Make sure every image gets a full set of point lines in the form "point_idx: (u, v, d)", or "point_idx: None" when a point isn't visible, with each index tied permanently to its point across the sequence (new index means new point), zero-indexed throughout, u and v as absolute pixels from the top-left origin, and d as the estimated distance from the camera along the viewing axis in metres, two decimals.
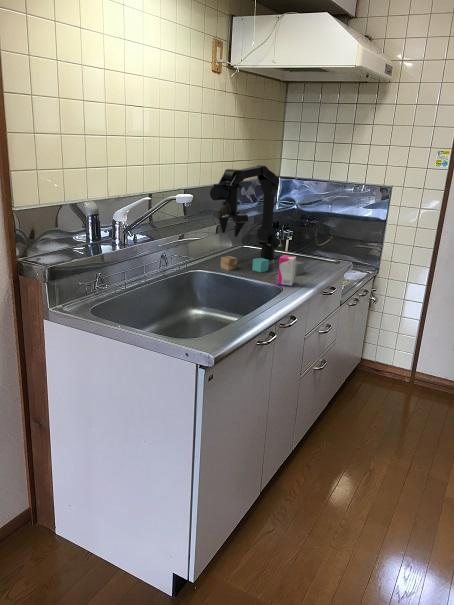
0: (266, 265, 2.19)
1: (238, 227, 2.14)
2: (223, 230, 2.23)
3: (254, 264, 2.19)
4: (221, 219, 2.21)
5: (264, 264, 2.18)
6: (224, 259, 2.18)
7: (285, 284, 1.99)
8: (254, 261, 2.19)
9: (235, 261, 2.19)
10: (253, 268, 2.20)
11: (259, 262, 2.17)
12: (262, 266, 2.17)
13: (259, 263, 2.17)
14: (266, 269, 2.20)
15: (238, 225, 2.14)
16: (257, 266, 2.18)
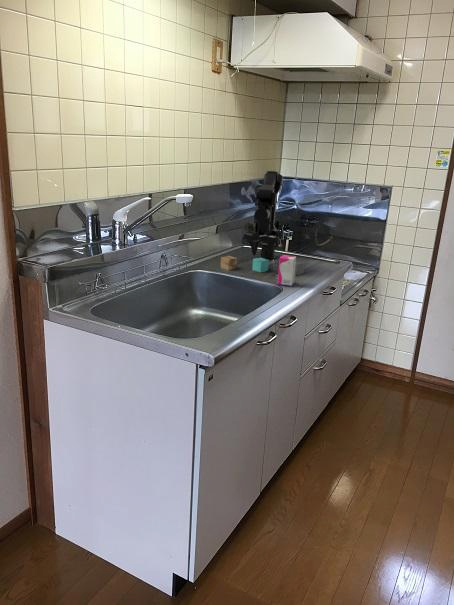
0: (266, 265, 2.19)
1: (253, 246, 2.13)
2: (268, 250, 2.21)
3: (254, 264, 2.19)
4: (268, 238, 2.20)
5: (264, 264, 2.18)
6: (224, 259, 2.18)
7: (285, 284, 1.99)
8: (254, 261, 2.19)
9: (235, 261, 2.19)
10: (253, 268, 2.20)
11: (259, 262, 2.17)
12: (262, 266, 2.17)
13: (259, 263, 2.17)
14: (266, 269, 2.20)
15: (253, 244, 2.13)
16: (257, 266, 2.18)
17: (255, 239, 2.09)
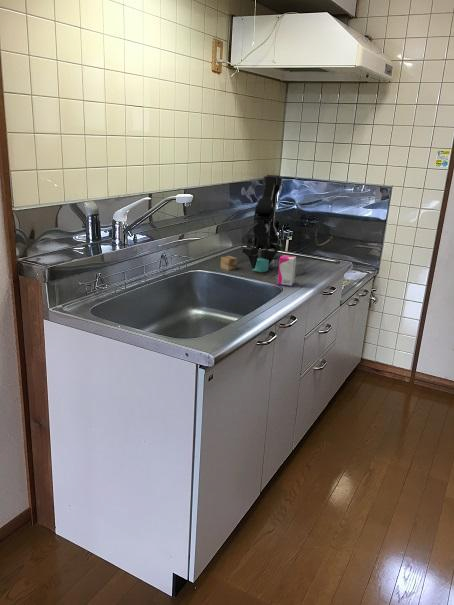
0: (266, 265, 2.19)
1: (252, 259, 2.15)
2: None
3: None
4: (267, 252, 2.22)
5: (264, 264, 2.18)
6: (224, 259, 2.18)
7: (285, 284, 1.99)
8: None
9: (235, 261, 2.19)
10: None
11: (259, 262, 2.17)
12: (262, 266, 2.17)
13: (259, 263, 2.17)
14: (266, 269, 2.20)
15: (252, 257, 2.15)
16: (257, 266, 2.18)
17: (254, 253, 2.10)
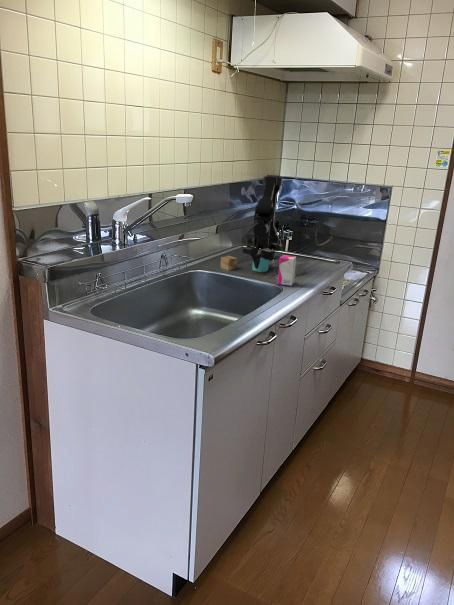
0: (266, 265, 2.19)
1: (255, 259, 2.16)
2: None
3: None
4: (264, 252, 2.21)
5: (264, 264, 2.18)
6: (224, 259, 2.18)
7: (285, 284, 1.99)
8: None
9: (235, 261, 2.19)
10: (253, 268, 2.20)
11: (259, 262, 2.17)
12: (262, 266, 2.17)
13: (259, 263, 2.17)
14: (266, 269, 2.20)
15: (255, 257, 2.16)
16: None
17: (254, 253, 2.10)
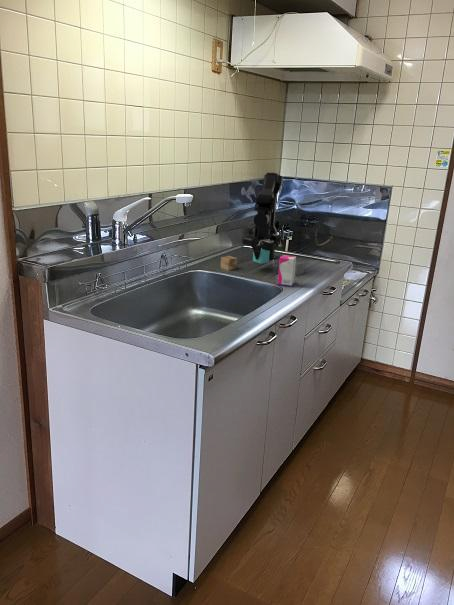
0: (267, 256, 2.17)
1: (256, 250, 2.15)
2: None
3: None
4: (265, 244, 2.20)
5: (265, 255, 2.16)
6: (224, 259, 2.18)
7: (285, 284, 1.99)
8: None
9: (235, 261, 2.19)
10: (254, 259, 2.19)
11: (260, 253, 2.15)
12: (262, 257, 2.16)
13: (260, 254, 2.15)
14: (267, 260, 2.18)
15: (256, 248, 2.15)
16: None
17: (255, 244, 2.09)
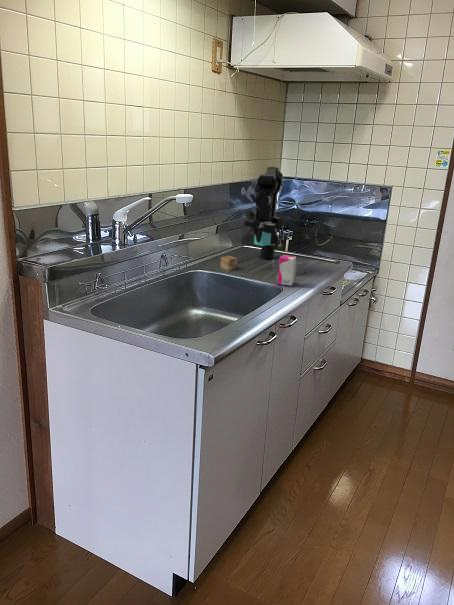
0: (268, 239, 2.15)
1: (257, 232, 2.12)
2: None
3: None
4: (266, 226, 2.17)
5: (266, 237, 2.14)
6: (224, 259, 2.18)
7: (285, 284, 1.99)
8: None
9: (235, 261, 2.19)
10: (255, 242, 2.16)
11: (261, 235, 2.13)
12: (264, 239, 2.13)
13: (261, 236, 2.13)
14: (268, 243, 2.16)
15: (257, 230, 2.12)
16: None
17: (256, 226, 2.07)
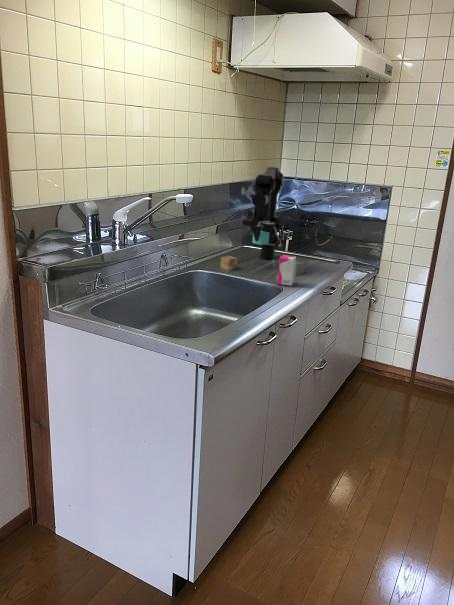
0: (266, 237, 2.17)
1: (255, 231, 2.14)
2: None
3: None
4: (264, 225, 2.19)
5: (264, 236, 2.16)
6: (224, 259, 2.18)
7: (285, 284, 1.99)
8: None
9: (235, 261, 2.19)
10: (253, 241, 2.18)
11: None
12: (262, 238, 2.15)
13: (259, 235, 2.15)
14: (266, 242, 2.18)
15: (255, 229, 2.14)
16: None
17: (254, 225, 2.09)
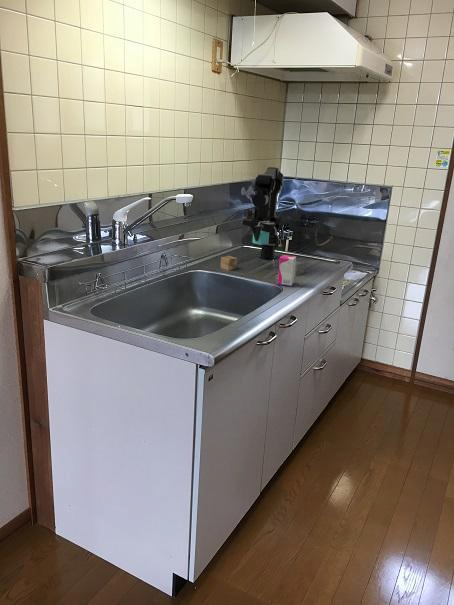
0: (266, 237, 2.17)
1: (255, 231, 2.14)
2: None
3: None
4: (264, 225, 2.19)
5: (264, 236, 2.16)
6: (224, 259, 2.18)
7: (285, 284, 1.99)
8: None
9: (235, 261, 2.19)
10: (253, 241, 2.18)
11: None
12: (262, 238, 2.15)
13: (259, 235, 2.15)
14: (266, 242, 2.18)
15: (255, 229, 2.14)
16: None
17: (254, 225, 2.09)
